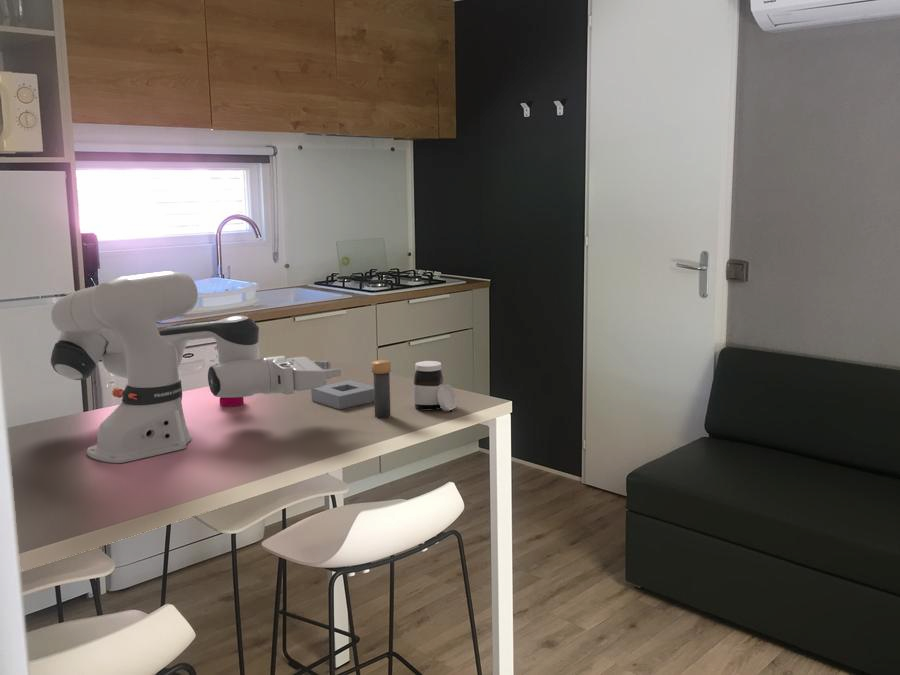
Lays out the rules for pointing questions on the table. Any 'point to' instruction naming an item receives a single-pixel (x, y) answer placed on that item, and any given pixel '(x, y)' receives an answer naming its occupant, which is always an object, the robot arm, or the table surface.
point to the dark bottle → (381, 388)
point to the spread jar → (432, 387)
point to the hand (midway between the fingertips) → (334, 368)
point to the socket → (343, 394)
